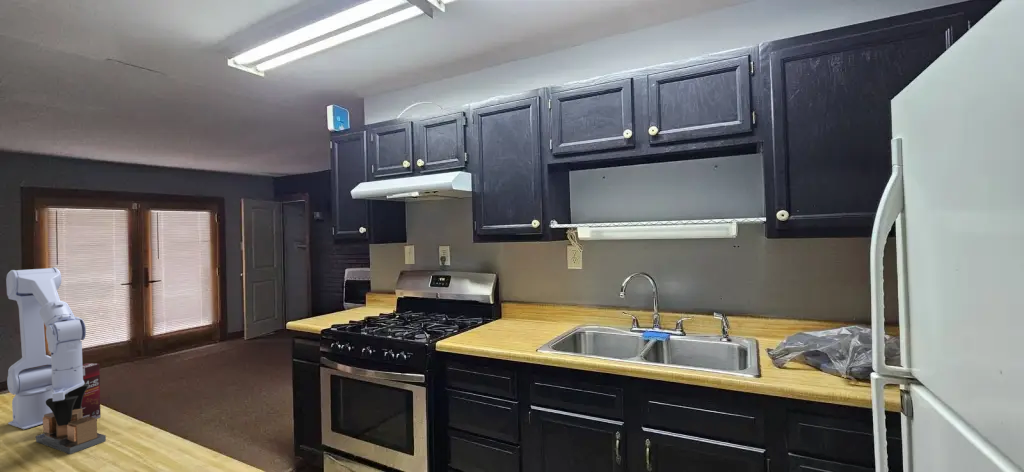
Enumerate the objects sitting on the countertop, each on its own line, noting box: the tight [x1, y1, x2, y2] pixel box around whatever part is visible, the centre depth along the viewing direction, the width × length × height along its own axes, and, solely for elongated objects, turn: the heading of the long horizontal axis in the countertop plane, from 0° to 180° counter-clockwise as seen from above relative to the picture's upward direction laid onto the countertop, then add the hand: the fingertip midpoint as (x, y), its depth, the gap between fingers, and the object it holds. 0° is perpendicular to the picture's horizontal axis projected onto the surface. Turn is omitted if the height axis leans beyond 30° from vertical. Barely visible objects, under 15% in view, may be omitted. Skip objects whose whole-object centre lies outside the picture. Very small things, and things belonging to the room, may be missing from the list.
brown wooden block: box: [56, 409, 83, 439], centre depth 118 cm, size 4×4×6 cm
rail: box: [35, 412, 107, 455], centre depth 118 cm, size 17×7×6 cm, turn 67°
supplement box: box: [81, 362, 102, 419], centre depth 129 cm, size 9×5×16 cm, turn 168°
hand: (69, 419), depth 118 cm, fingers open, 7 cm apart
